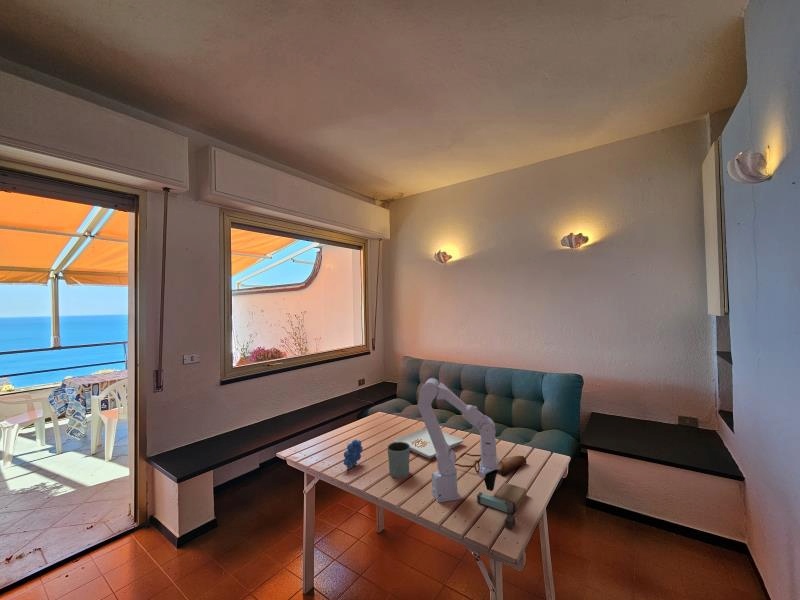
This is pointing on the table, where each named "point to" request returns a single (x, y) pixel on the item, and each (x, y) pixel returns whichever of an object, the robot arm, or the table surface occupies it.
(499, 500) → the stool leg
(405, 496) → the table surface
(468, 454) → the glasses
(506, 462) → the sunglasses case
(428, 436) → the square plate
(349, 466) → the grapes
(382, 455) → the table surface
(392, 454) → the green cup
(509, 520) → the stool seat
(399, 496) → the table surface
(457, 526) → the table surface
